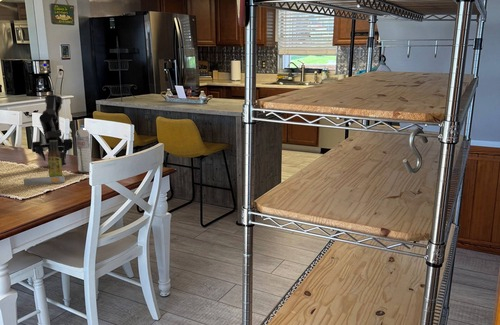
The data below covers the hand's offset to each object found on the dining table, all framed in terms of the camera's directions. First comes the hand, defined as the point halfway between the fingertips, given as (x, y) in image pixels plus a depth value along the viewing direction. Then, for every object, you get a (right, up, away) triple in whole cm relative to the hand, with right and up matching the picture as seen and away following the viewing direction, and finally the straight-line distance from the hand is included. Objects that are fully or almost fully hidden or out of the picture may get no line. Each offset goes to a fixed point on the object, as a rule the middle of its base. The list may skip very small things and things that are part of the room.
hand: (55, 159), depth 220 cm
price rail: (-3, -12, -5) cm, 13 cm away
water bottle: (+8, -6, +19) cm, 22 cm away
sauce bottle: (-1, -10, +4) cm, 11 cm away
